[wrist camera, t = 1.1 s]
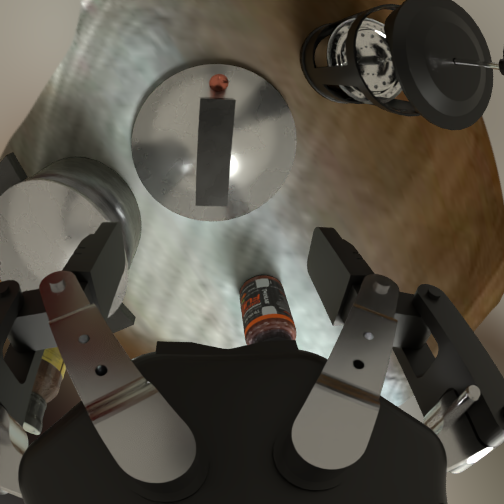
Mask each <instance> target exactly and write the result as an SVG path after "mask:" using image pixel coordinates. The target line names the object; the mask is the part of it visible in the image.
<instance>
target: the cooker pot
mask: <svg viewBox="0 0 504 504" xmlns="http://www.w3.org/2000/svg"><path fill="white" fill-rule="evenodd" d="M26 178H27V175H26V173H25V172H24V170H23V168H22V167H21V165H20V163H19V162H18V160H17V158H16V156H15V155H14V153H11V154H9V155H7V156H6V157H5V158H4V159H3V160H2V161H1V162H0V279H1V281H2V282H3V281H6V280H15V281H17V282H18V283H19V285H20V288H21V290H22V292H23V291H29V290H34V289H39V285H40V283H41V281H42V280H43V279H44V278H45V277H46V276H47V275H49V274H51V273H53V272H57V271H62V270H63V268H64V266H65V265H66V263H67V262H68V260H69V259H70V257H71V256H72V254H73V252H74V251H75V249H77V246H78V245H79V244H80V242H81V241H82V240H83V239H84V238H85V237H87V236H88V235H90V234H94V233H95V232H96V230H97V229H98V227H99V226H100V225H101V223H102V222H120V224H121V227H122V235H123V243H124V251H125V270H124V273H123V275H122V278H121V281H120V283H119V286H118V289H117V292H116V294H115V297H114V300H113V303H112V306H111V309H110V312H109V315H108V318H107V321H106V323H107V325H108V326H109V328H110V329H111V331H112V333H115V332H117V331H120V330H122V329H124V328H127V327H129V326H132V325H134V321H135V316H134V315H133V314H132V313H131V312H130V311H129V309H128V308H127V307H126V306H125V305H124V304H123V303H122V301H123V298H124V296H125V293H126V289H127V285H128V276H129V269H130V266H131V263H132V260H133V258H134V255H135V252H136V250H137V247H138V244H139V241H140V237H141V216H140V211H139V207H138V204H137V202H136V199H135V197H134V195H133V193H132V191H131V190H130V188H129V187H128V185H127V184H126V183H125V181H124V180H123V179H122V178H121V177H120V176H119V175H118V174H117V173H116V172H114V171H113V170H112V169H111V168H109V167H107V166H106V165H104V164H102V163H100V162H98V161H96V160H92V159H89V158H83V157H70V158H64V159H62V160H59V161H56V162H54V163H53V164H51V165H49V166H48V167H46V168H45V169H43V170H41V171H40V172H38V173H37V174H36V175H34V176H33V177H31V178H30V179H28V180H25V179H26Z"/></svg>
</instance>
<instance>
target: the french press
mask: <svg viewBox="0 0 504 504" xmlns="http://www.w3.org/2000/svg"><path fill="white" fill-rule="evenodd" d="M381 9H390V10H394V11H393V12H391V14H390V15H389V16H388V17H387V19H386V21H385V25H384V24H382V23H380V22H378V21H376V20H373V19H369V18H366V17H367V16H368V15H369V14H370V13H372V12H375V11H378V10H381ZM331 34H332V35H331ZM328 35H331V37H330V39H329V43H328V48H327V63H328V67H320V68H316V65H315V60H314V56H315V50H316V47H317V45H318V44H319V43H320V41H321V40H322V39H323V38H325V37H326V36H328ZM301 66H302V70H303V73H304V75H305V78H306V79H307V81H308V82H309V84H310V85H311V87H312V88H313V89H314V90H315V91H316V92H317V93H319V94H320V95H321V96H323V97H325V98H327V99H329V100H331V101H334V102H338V103H346V104H347V103H355V104H364V103H366V104H372V105H376V106H378V107H379V108H381V109H383V110H386V111H388V112H391V113H395V114H399V115H404V116H419V115H421V116H423V117H424V118H425V119H426V120H428V121H429V122H430V123H432V124H434V125H436V126H438V127H441V128H444V129H449V130H461V129H464V128H467V127H469V126H471V125H472V124H474V123H475V122H476V121H477V120H478V119H479V118H480V117H481V116H482V115H483V113H484V111H485V110H486V108H487V106H488V103H489V100H490V97H491V93H492V87H493V69H498V70H500V72H501V74H502V75H504V50H503V59H500V61H499V63H493V62H492V61H491V56H490V52H489V49H488V46H487V43H486V41H485V38H484V37H483V35H482V33H481V31H480V29H479V27H478V26H477V24H476V23H475V22H474V20H473V19H472V18H471V16H470V15H469V14H468V13H467V12H466V11H465V10H464V9H463V8H462V7H460V6H459V5H457V4H456V3H455V2H454V1H452V0H406V1H404V2H403V3H402V5H395V4H386V5H380V6H377V7H374V8H371V9H369V10H366V11H363V12H360V13H357V14H355V15H352V16H349V17H347V18H344V19H342V20H339V21H337V22H334V23H329V24H325V25H322V26H320V27H318V28H316V29H315V30H314V31H312V32H311V33H310V34H309V35H308V37H307V38H306V39H305V42H304V44H303V46H302V50H301ZM328 85H339V86H340V87H341V89H342V90H343V91H344V92H340V91H337V90H335V89H333V88H331V87H329V86H328ZM402 90H403V92H404V94H405V95H406V97H407V99H408V100H409V102H407V101H403V100H398V99H394V98H395V97H396V96H397V95H398V94H400V92H401V91H402ZM395 110H397V111H395ZM399 111H401V112H399Z"/></svg>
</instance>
